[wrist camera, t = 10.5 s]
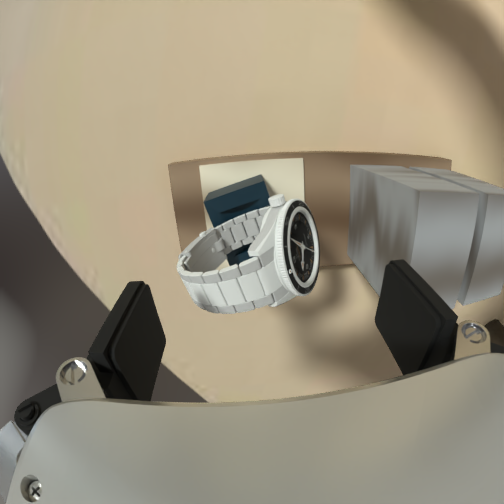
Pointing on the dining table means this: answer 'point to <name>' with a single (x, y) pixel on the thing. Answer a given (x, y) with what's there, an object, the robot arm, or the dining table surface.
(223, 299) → the watch
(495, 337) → the pillar candle
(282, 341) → the dining table surface
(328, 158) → the wood and grey tray
